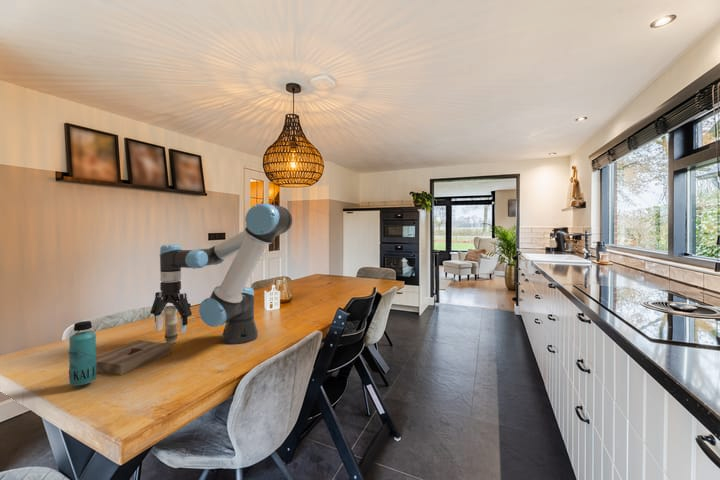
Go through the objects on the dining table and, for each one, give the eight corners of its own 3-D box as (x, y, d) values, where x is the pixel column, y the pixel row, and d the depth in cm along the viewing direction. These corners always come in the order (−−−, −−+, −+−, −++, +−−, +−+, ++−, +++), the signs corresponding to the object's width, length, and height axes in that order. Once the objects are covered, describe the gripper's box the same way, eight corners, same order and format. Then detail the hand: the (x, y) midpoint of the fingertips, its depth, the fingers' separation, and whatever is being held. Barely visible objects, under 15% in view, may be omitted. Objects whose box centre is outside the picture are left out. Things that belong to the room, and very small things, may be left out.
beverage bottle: (80, 380, 99) (79, 319, 98) (102, 380, 99) (101, 318, 99) (62, 391, 92) (61, 325, 92) (86, 390, 93) (85, 325, 92)
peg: (180, 342, 133) (179, 305, 133) (171, 346, 129) (170, 308, 128) (171, 341, 135) (171, 305, 134) (161, 345, 130) (161, 307, 130)
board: (170, 352, 122) (170, 344, 122) (120, 375, 103) (120, 365, 102) (138, 348, 126) (138, 340, 126) (84, 369, 106) (84, 359, 106)
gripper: (140, 281, 130) (140, 331, 131) (187, 283, 124) (187, 336, 125) (155, 278, 137) (156, 326, 138) (201, 281, 132) (201, 331, 132)
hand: (171, 331), depth 132 cm, fingers open, 12 cm apart
